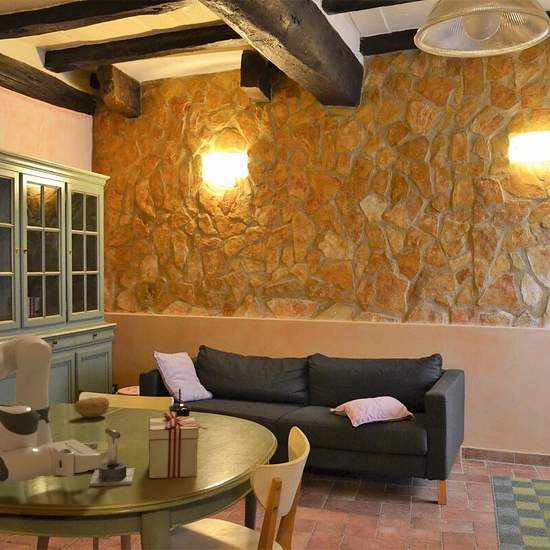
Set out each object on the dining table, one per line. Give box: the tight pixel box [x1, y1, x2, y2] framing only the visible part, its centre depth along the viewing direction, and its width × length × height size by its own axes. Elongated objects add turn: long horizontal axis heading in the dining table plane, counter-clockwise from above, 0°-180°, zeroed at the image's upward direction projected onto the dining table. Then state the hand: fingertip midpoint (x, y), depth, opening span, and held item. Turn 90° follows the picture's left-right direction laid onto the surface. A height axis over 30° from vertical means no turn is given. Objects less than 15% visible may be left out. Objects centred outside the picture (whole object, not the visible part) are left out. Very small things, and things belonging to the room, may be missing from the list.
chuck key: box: [104, 427, 121, 467], centre depth 197 cm, size 7×3×14 cm, turn 38°
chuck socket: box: [89, 460, 136, 487], centre depth 197 cm, size 12×12×4 cm
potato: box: [73, 396, 110, 419], centre depth 271 cm, size 10×14×8 cm
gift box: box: [147, 411, 209, 479], centre depth 205 cm, size 17×18×17 cm
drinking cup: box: [168, 388, 192, 417], centre depth 231 cm, size 8×8×20 cm
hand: (102, 449), depth 194 cm, fingers open, 8 cm apart
